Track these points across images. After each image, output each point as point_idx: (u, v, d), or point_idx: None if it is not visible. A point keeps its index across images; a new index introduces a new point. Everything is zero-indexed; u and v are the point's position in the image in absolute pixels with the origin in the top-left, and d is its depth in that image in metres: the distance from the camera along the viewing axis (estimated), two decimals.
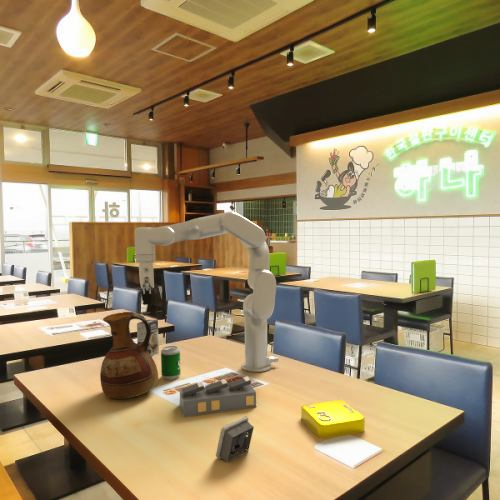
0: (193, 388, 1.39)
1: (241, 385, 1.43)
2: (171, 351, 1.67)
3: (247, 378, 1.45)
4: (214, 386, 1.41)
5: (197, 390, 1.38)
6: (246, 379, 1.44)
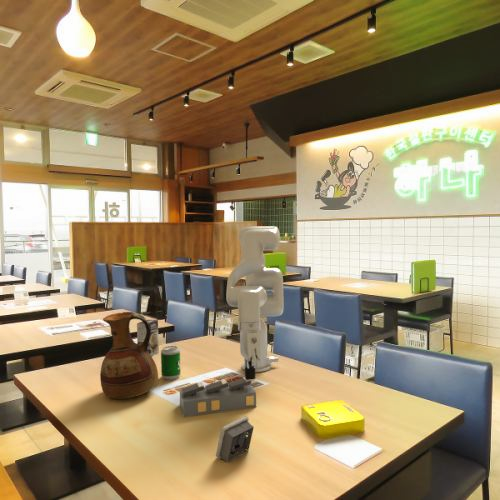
0: (193, 388, 1.39)
1: (241, 385, 1.43)
2: (171, 351, 1.67)
3: None
4: (214, 386, 1.41)
5: (197, 390, 1.38)
6: None
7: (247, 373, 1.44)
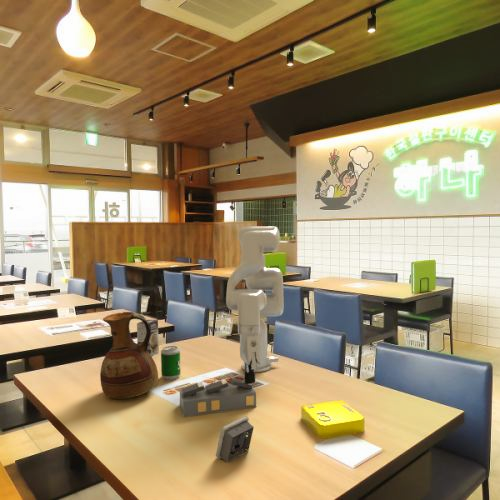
0: (193, 388, 1.39)
1: (242, 385, 1.43)
2: (171, 351, 1.67)
3: None
4: (214, 386, 1.41)
5: (197, 390, 1.38)
6: None
7: (247, 377, 1.43)
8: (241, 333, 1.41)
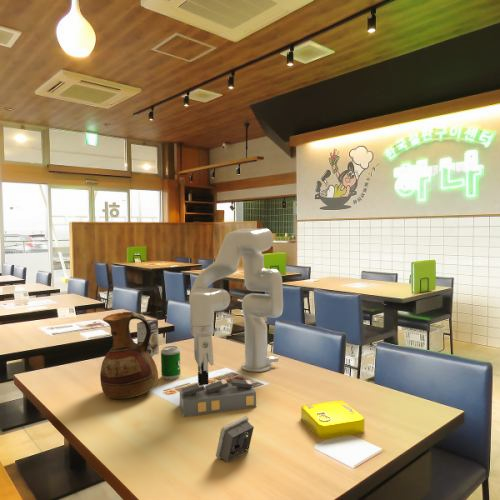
0: (193, 388, 1.39)
1: (242, 385, 1.43)
2: (171, 351, 1.67)
3: (249, 382, 1.45)
4: (214, 386, 1.41)
5: (197, 390, 1.38)
6: (248, 382, 1.45)
7: (200, 378, 1.39)
8: (193, 334, 1.37)
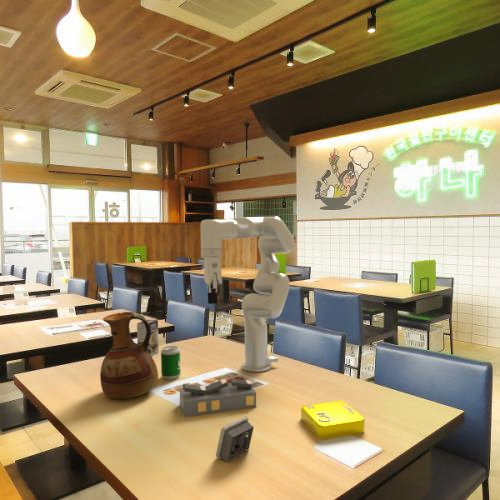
0: (195, 388, 1.39)
1: (242, 385, 1.43)
2: (171, 351, 1.67)
3: (249, 382, 1.45)
4: (214, 386, 1.41)
5: (198, 392, 1.38)
6: (248, 382, 1.45)
7: (209, 297, 1.55)
8: (203, 256, 1.52)
